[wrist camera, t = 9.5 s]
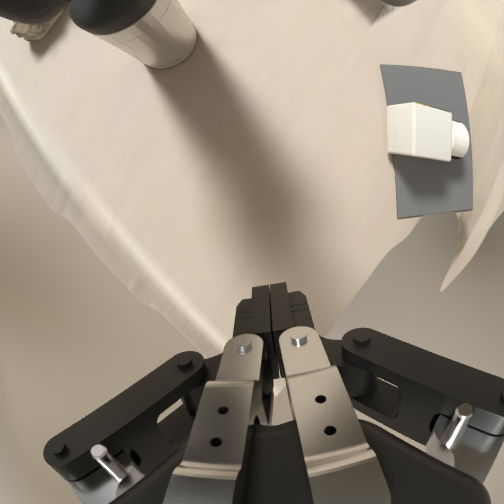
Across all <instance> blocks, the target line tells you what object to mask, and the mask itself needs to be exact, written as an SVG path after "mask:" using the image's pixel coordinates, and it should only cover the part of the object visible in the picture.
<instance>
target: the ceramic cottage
mask: <svg viewBox="0 0 504 504" xmlns="http://www.w3.org/2000/svg"><path fill="white" fill-rule="evenodd" d="M65 8H66V7H65ZM65 8H64V9H63V10H62V11H61V12H60V13H59V14H58V15H57V16H56V17H54V18H53V19H52V20H51V21H49V22H47V23H45V24H41V25H29V24H23V23H19V22H15V21H13V22H14V24H13V26H12V28H11V31H10V32H11V33H12V34H16V35H17V36H18V37H19V38H21V37H23V38H24V39H25V40H36V41H37V40H40V39H42V38H43V37H44V36H45V35H46V34H47V32H48V31H49V29H50V28H51V27H52V26H53V25H54V23H55V22H56V20H57V19H58V18H59V17H60V15H61V14H62V13H63V11H64V10H65Z"/></svg>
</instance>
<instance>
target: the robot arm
mask: <svg viewBox="0 0 504 504" xmlns="http://www.w3.org/2000/svg"><path fill="white" fill-rule="evenodd" d="M68 4H69V13H70V17H71V19H72V20H73V22H74V23H75V24H76V25H77V26H78V27H80V28H81V29H83V30H85V31H87V32H89V33H91V34H93V35H95V36H97V37H99V38H101V39H103V40H105V41H107V42H108V43H110V44H112V45H114V46H115V47H117V48H119V49H121V50H122V51H124V52H126V53H128V54H129V55H131V56H133V57H134V58H136V59H138V60H139V61H141V62H143V63H144V64H146V65H148V66H150V67H152V68H157V69H165V68H170V67H173V66H176V65H178V64H179V63H181V62H183V61H184V60H185V59H186V58H187V57H188V56H189V55H190V54H191V53H192V51H193V49H194V47H195V44H196V40H197V34H196V30H195V28H194V26H193V24H192V23H191V21H190V19H189V18H188V16H187V15H186V13H185V11H184V10H183V8H182V7H181V5H180V4H179V2H178V1H177V0H0V16H1V17H3V18H6V19H9V20H12V21H15V22H19V23H23V24H29V25H41V24H45V23H47V22H49V21H51V20H52V19H53V18H54V17H56V16H57V15H58V14H59V13H60V12H61V11H62V10H63V9H64V8H65V7H66V6H67V5H68ZM278 363H279V366H278ZM279 369H280V375H281V378H284V377H285V380H286V386H287V393H288V397H289V402H290V408H291V412H292V418H293V420H292V421H289V422H287V423H283V424H280V425H276V426H272V414H273V399H274V393H273V386H274V383H273V379H277V378H279ZM378 377H379V378H381V379H384V380H385V381H388V382H390V383H392V384H394V385H396V386H398V388H397V387H395V386H393V385H391V384H389V383H387V382H384V381H382V380H380V379H378ZM180 398H181V400H182V402H183V404H182V405H181V406H180V407H178V408H177V409H176V410H175V411H173V412H172V413H171V414H169V415H168V416H167V417H166V418H165V419H163V420H162V421H161V422H159V423H158V424H157V419H158V417H159V415H160V414H161V413H162V412H163V411H165V410H166V409H167V408H169V407H170V406H171V405H173V404H174V403H175V402H176V401H178V400H179V399H180ZM354 408H355V409H356V410H358V411H360V412H362V413H363V414H365V415H367V416H369V417H371V418H372V419H374V420H376V421H378V422H380V423H382V424H384V425H385V426H387V427H389V428H391V429H393V430H395V431H397V432H399V433H401V434H403V435H405V436H406V437H409V438H410V439H412V440H414V441H416V442H418V443H421V444H422V445H425V446H426V452H427V453H425V452H423V451H421V450H420V449H418V448H416V447H414V446H412V445H410V444H409V443H407V442H405V441H403V440H401V439H400V438H398V437H396V436H395V435H393V434H391V433H389V432H388V431H386V430H384V429H383V428H381V427H379V426H377V425H375V424H373V423H370V422H368V421H365V420H360V419H358V418H357V415H356V413H355V410H354ZM503 442H504V379H503V378H500V377H498V376H495V375H492V374H489V373H486V372H483V371H481V370H478V369H475V368H472V367H470V366H467V365H464V364H462V363H459V362H456V361H453V360H451V359H448V358H445V357H442V356H440V355H437V354H435V353H432V352H429V351H427V350H424V349H422V348H419V347H416V346H414V345H411V344H409V343H406V342H403V341H401V340H398V339H395V338H393V337H390V336H388V335H385V334H382V333H380V332H378V331H375V330H373V329H369V328H357V329H353V330H351V331H349V332H347V333H346V334H345V335H344V336H343V338H342V340H330V339H326V338H323V337H321V336H320V335H318V333H317V331H316V330H315V329H314V325H313V321H312V317H311V314H310V310H309V306H308V303H307V299H306V296H305V295H304V294H302V293H301V292H300V291H297V292H290V293H288V291H287V285H286V282H284V283H277V284H271V285H270V289H269V285H265V286H258V287H252V298H251V299H244V300H242V301H241V302H240V303H239V304H238V305H237V308H236V315H235V323H234V331H233V338H232V339H230V340H229V341H228V342H227V343H226V345H225V347H224V351H223V353H221V354H219V355H217V356H214V357H211V358H208V359H204V358H203V356H202V355H201V354H199V353H198V352H194V351H187V352H182V353H179V354H177V355H175V356H174V357H172V358H171V359H169V360H168V361H166V362H165V363H164V364H162V365H161V366H160V367H158V368H157V369H155V370H154V371H152V372H151V373H149V374H148V375H147V376H145V377H144V378H142V379H141V380H139V381H138V382H136V383H135V384H133V385H132V386H130V387H129V388H128V389H126V390H125V391H123V392H122V393H120V394H119V395H117V396H116V397H114V398H113V399H111V400H110V401H108V402H107V403H105V404H104V405H102V406H101V407H99V408H98V409H96V410H95V411H93V412H92V413H90V414H89V415H87V416H86V417H85V418H83V419H81V420H79V421H78V422H76V423H75V424H73V425H72V426H70V427H69V428H67V429H65V430H64V431H62V432H61V433H59V434H58V435H56V436H54V437H53V438H51V439H50V440H49V441H48V442H47V444H46V445H45V448H44V452H43V454H44V459H45V461H46V462H47V463H48V464H49V465H50V466H51V467H52V468H53V469H54V470H55V471H56V472H58V473H59V474H60V476H61V477H62V478H63V479H64V480H66V482H68V483H69V484H70V485H71V487H72V488H73V490H74V492H75V494H76V495H77V497H78V498H79V500H80V501H81V503H82V504H491V500H490V496H489V493H488V491H487V489H486V488H485V487H484V485H483V482H484V481H485V479H486V477H487V475H488V473H489V471H490V469H491V467H492V465H493V463H494V461H495V459H496V457H497V455H498V452H499V450H500V448H501V446H502V443H503Z"/></svg>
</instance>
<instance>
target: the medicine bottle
mask: <svg viewBox="0 0 504 504" xmlns="http://www.w3.org/2000/svg"><path fill="white" fill-rule="evenodd" d="M468 148H469V134H468V131H467V129H466V127H465V126H464V125H463V124H462V123H461V122H459V121H455V120H452V113H451V112H449V111H446V110H442V109H439V108H435V107H431V106H428V105H424V104H420V103H416V102H411V103H404V104H397V105H390V106H388V107H387V152H388V153H392V154H400V155H407V156H414V157H421V158H428V159H434V160H441V161H446V162H450V161H451V159H461V158H462V157H464V155H465V154H466V153H467V151H468Z"/></svg>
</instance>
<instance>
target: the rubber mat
mask: <svg viewBox="0 0 504 504" xmlns="http://www.w3.org/2000/svg"><path fill="white" fill-rule="evenodd" d="M380 68H381V73H382V78H383V83H384V88H385V94H386V100H387V106H390V105H397V104H404V103H411V102H416V103H420V104H424V105H428V106H431V107H435V108H439V109H442V110H446V111H449V112H451V113H452V120H455V121H459V122H461V123H462V124H463V125H464V126H465V127H466V129H467V131H468V134H469V148H468V151H467V153H466V154H465V155H464V157H462V158H461V159H451V161H450V162H446V161H441V160H434V159H428V158H421V157H414V156H407V155H400V154H393V155H394V166H395V180H396V198H397V218H403V217H411V216H419V215H427V214H435V213H443V212H452V211H460V210H469V209H473V168H472V149H471V136H470V126H469V117H468V110H467V103H466V96H465V90H464V85H463V79H462V74H461V72H455V71H448V70H441V69H433V68H424V67H414V66H401V65H382V64H380Z"/></svg>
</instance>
